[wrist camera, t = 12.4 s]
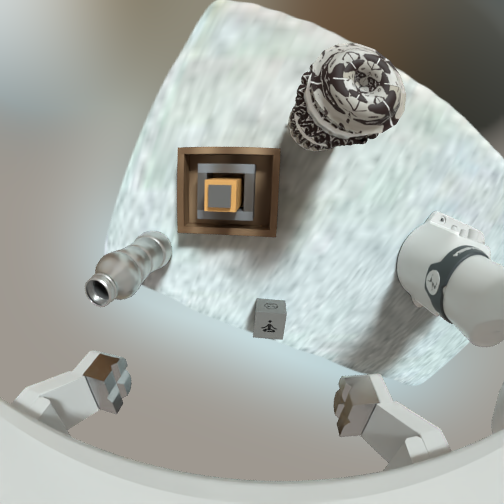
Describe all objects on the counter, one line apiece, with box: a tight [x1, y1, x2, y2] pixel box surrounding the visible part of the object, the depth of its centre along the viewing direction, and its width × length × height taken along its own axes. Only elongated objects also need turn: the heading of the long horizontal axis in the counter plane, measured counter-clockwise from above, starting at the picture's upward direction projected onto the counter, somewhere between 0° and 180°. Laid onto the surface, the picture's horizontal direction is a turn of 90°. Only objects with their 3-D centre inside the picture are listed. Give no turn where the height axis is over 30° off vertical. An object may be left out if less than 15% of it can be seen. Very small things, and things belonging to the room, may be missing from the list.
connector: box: [204, 177, 243, 212], centre depth 39 cm, size 4×4×10 cm
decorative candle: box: [289, 43, 406, 152], centre depth 28 cm, size 9×9×25 cm
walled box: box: [177, 147, 280, 237], centre depth 41 cm, size 15×13×5 cm
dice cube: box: [253, 298, 287, 340], centre depth 47 cm, size 5×5×5 cm
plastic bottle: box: [85, 231, 172, 307], centre depth 38 cm, size 6×7×20 cm
